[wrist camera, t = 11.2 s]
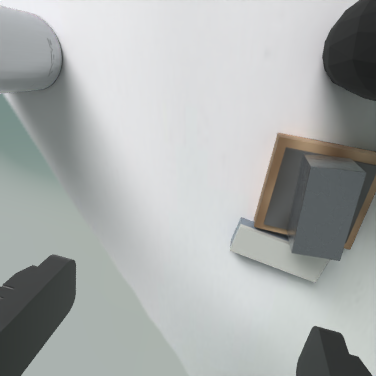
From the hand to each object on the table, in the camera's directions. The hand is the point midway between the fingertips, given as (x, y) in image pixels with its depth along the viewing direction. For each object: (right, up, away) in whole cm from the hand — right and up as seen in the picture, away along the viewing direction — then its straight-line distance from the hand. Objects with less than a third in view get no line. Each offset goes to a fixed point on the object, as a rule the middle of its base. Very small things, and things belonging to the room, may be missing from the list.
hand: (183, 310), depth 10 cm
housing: (+15, +3, +25) cm, 30 cm away
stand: (+16, +4, +28) cm, 32 cm away
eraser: (+13, -4, +32) cm, 35 cm away
